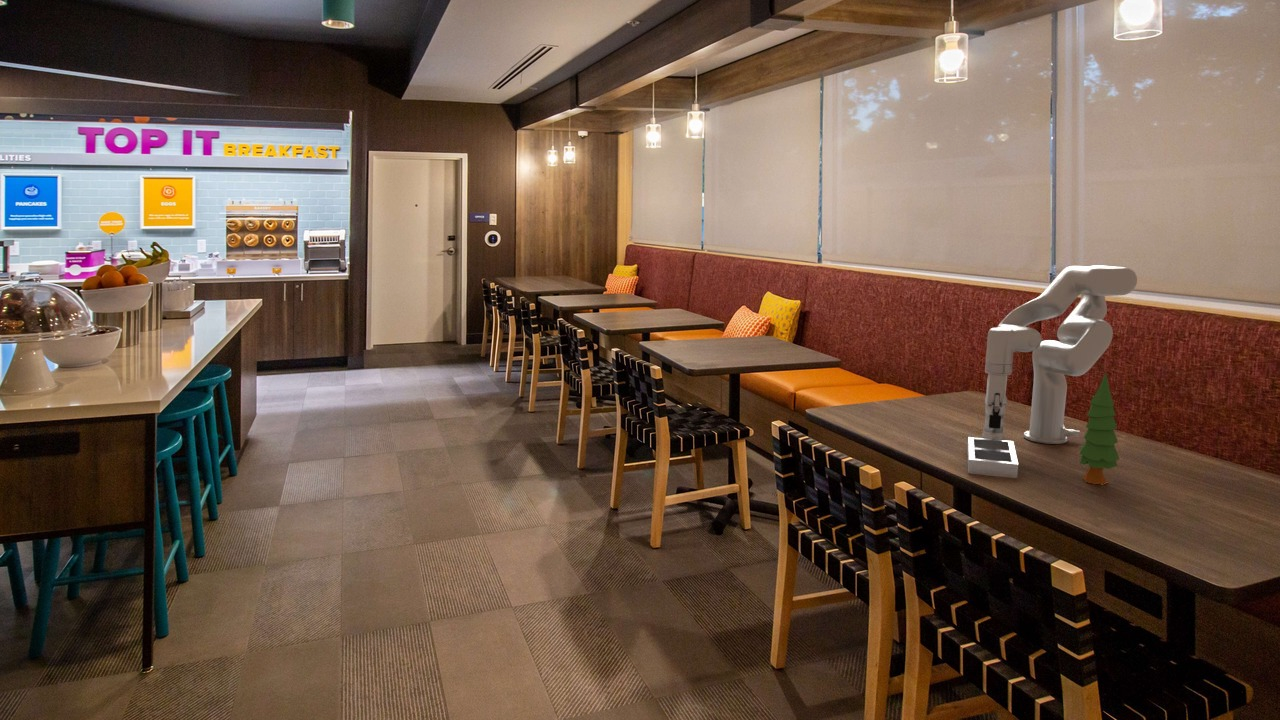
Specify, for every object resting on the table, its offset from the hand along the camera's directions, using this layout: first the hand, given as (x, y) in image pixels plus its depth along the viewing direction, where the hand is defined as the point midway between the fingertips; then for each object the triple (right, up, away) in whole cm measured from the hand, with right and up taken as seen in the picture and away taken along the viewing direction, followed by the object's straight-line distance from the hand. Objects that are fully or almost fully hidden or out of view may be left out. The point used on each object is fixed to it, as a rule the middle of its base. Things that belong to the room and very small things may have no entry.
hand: (993, 424), depth 257 cm
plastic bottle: (0, -7, +1) cm, 7 cm away
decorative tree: (+14, -13, -32) cm, 37 cm away
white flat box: (-8, -10, -16) cm, 20 cm away
